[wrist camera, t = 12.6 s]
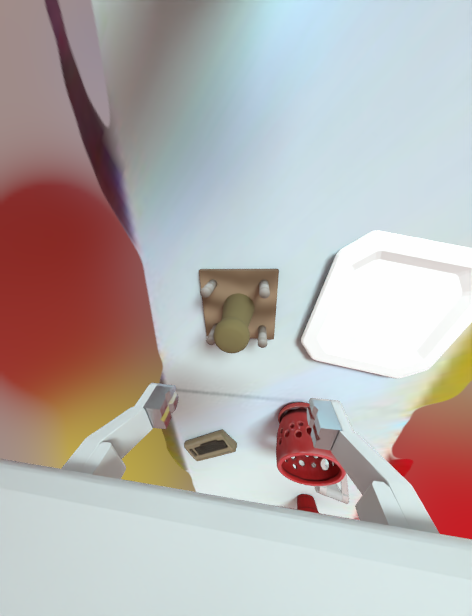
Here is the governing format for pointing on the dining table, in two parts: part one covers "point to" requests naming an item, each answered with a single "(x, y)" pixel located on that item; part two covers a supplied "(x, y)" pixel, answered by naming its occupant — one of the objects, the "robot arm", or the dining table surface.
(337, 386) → the dining table surface
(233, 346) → the olive gourd
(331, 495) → the portable electronic device stand
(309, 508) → the plastic cup
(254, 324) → the standoff base
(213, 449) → the computer
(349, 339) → the plate
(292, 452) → the plant pot
